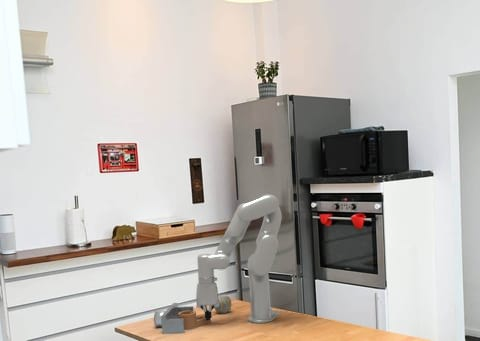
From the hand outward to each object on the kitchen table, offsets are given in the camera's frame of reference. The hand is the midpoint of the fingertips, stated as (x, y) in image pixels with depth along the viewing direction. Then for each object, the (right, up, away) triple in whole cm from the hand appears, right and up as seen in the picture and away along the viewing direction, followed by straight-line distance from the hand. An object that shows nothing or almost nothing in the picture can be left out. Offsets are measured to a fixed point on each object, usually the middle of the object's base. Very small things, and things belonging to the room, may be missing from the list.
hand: (208, 319), depth 227 cm
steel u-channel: (-18, -4, +2) cm, 18 cm away
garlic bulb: (+6, -3, +21) cm, 22 cm away
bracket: (-6, -3, +1) cm, 7 cm away
